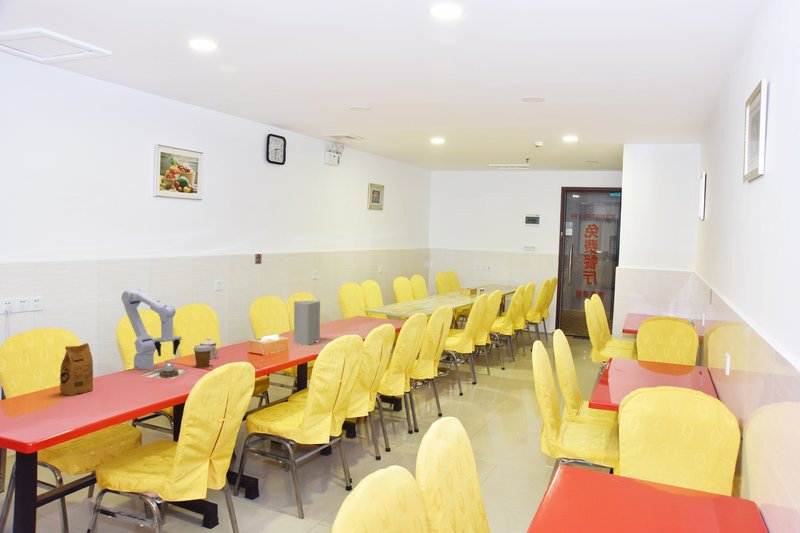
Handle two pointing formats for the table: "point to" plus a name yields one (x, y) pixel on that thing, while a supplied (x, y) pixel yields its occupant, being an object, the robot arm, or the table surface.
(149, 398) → the table surface
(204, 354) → the disposable coffee cup
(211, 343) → the teacup with lid
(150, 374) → the plate
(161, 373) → the ring collar
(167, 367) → the piston
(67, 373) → the coffee package
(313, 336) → the grey block
